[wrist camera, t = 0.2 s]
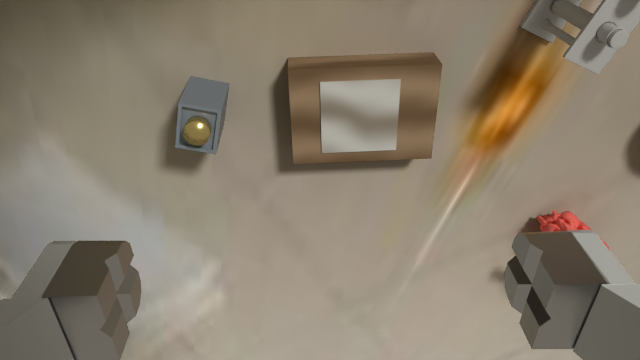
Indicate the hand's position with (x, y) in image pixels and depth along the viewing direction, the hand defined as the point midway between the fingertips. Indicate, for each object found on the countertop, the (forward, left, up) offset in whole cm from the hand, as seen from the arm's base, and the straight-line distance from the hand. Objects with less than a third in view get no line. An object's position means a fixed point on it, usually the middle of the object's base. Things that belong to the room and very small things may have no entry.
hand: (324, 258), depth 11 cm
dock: (+18, +7, -48) cm, 52 cm away
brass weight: (+17, -12, -41) cm, 46 cm away
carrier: (+17, -12, -48) cm, 52 cm away
